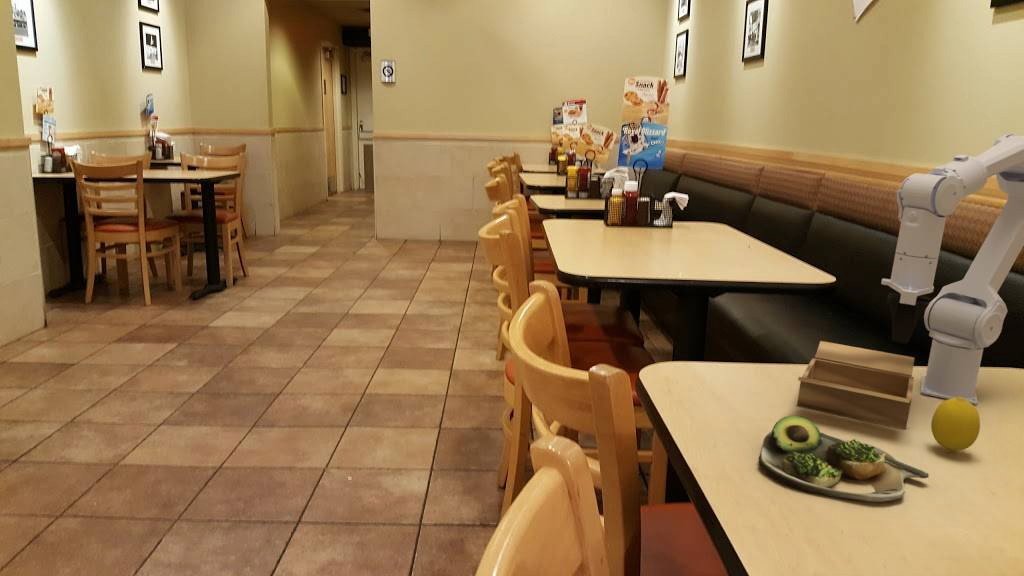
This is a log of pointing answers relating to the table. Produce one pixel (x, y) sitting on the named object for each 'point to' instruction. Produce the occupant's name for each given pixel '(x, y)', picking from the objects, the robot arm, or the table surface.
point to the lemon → (955, 424)
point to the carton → (855, 402)
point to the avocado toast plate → (831, 462)
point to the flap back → (865, 358)
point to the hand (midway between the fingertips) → (900, 341)
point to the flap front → (854, 390)
